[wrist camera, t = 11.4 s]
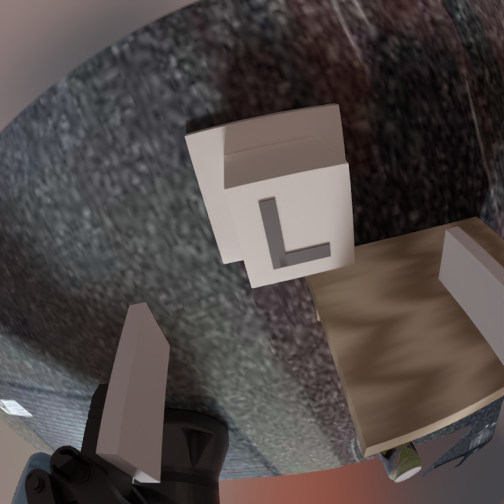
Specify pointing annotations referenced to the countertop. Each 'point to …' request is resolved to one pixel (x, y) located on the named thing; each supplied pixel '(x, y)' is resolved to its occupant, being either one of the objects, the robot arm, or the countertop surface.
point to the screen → (406, 338)
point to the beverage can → (401, 461)
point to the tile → (245, 138)
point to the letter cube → (290, 209)
